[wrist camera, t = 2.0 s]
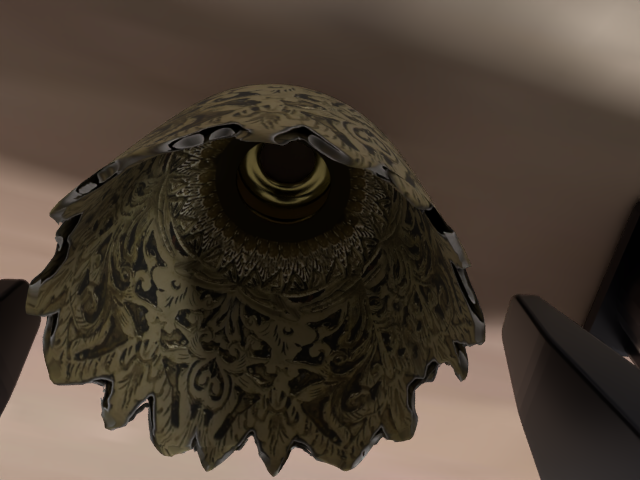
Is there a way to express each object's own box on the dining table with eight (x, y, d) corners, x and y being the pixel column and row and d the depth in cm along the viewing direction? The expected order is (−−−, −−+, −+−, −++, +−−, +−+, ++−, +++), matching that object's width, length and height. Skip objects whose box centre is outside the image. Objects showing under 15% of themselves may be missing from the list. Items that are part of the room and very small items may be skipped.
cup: (328, 291, 18) (329, 519, 11) (129, 196, 16) (-19, 404, 9) (464, 115, 14) (587, 293, 7) (228, -35, 12) (106, 24, 5)
